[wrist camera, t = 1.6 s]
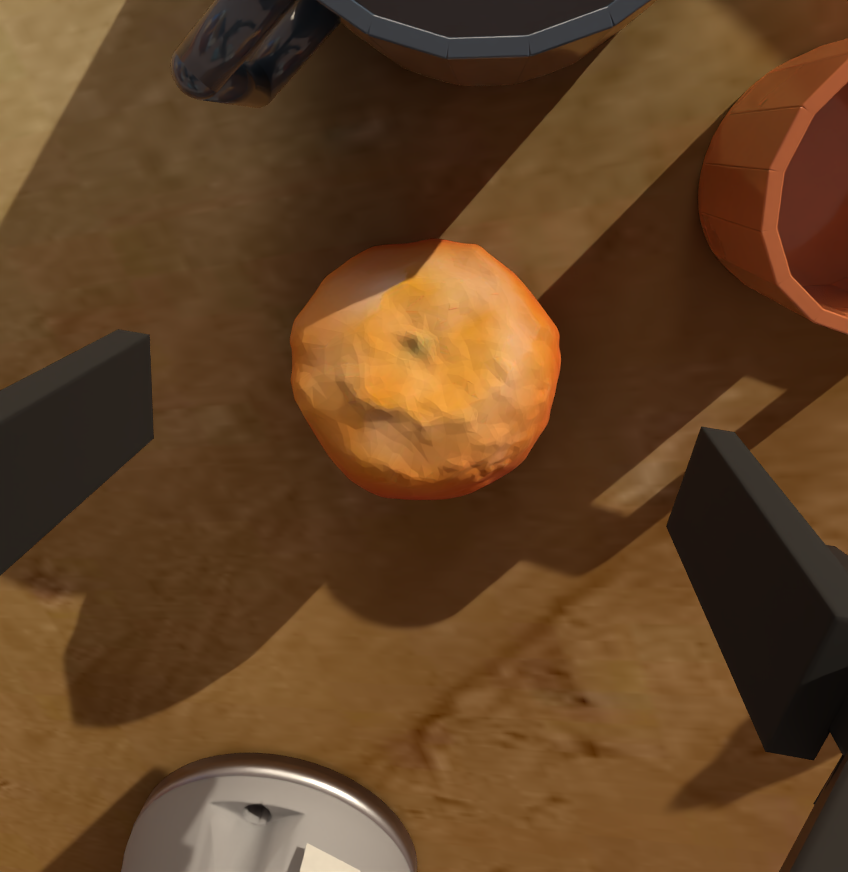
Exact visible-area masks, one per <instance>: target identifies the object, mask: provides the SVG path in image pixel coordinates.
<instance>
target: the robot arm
mask: <svg viewBox="0 0 848 872" xmlns="http://www.w3.org/2000/svg"><path fill="white" fill-rule="evenodd" d="M152 439H154V434H153V408H152V382H151V356H150V335H149V334H143V333H137V332H131V331H125V330H119V329H118V330H116V331H114V332H112V333H110V334H108V335H107V336H105V337H103V338H101V339H99V340H97V341H95V342H93V343H91V344H89V345H87V346H85V347H83V348H81V349H80V350H78V351H76V352H74V353H72V354H70V355H68V356H66V357H64V358H62V359H60V360H58V361H56V362H55V363H53V364H51V365H49V366H47V367H45V368H43V369H41V370H39V371H37V372H35V373H33V374H31V375H29V376H28V377H26V378H24V379H22V380H20V381H18V382H16V383H14V384H12V385H10V386H8V387H6V388H4V389H3V390H1V391H0V575H1V574H3V573H4V572H5V571H6V570H7V569H8V568H9V567H10V566H12V565H13V564H14V563H15V562H16V561H17V560H18V559H19V558H20V557H22V556H23V555H24V554H25V553H26V552H27V551H28V550H29V549H31V548H32V547H33V546H34V545H35V544H36V543H37V542H38V541H39V540H41V539H42V538H43V537H44V536H45V535H46V534H47V533H48V532H50V531H51V530H52V529H53V528H54V527H55V526H56V525H57V524H58V523H60V522H61V521H62V520H63V519H64V518H65V517H66V516H67V515H69V514H70V513H71V512H72V511H73V510H74V509H75V508H76V507H78V506H79V505H80V504H81V503H82V502H83V501H84V500H85V499H86V498H88V497H89V496H90V495H91V494H92V493H93V492H94V491H95V490H97V489H98V488H99V487H100V486H101V485H102V484H103V483H104V482H105V481H107V480H108V479H109V478H110V477H111V476H112V475H113V474H114V473H116V472H117V471H118V470H119V469H120V468H121V467H122V466H123V465H124V464H126V463H127V462H128V461H129V460H130V459H131V458H132V457H133V456H135V455H136V454H137V453H138V452H139V451H140V450H141V449H142V448H144V447H145V446H146V445H147V444H148V443H149V442H150V441H151V440H152ZM666 527H667V529H668V531H669V534H670V536H671V538H672V540H673V543H674V545H675V547H676V549H677V552H678V554H679V556H680V559H681V561H682V563H683V565H684V568H685V570H686V572H687V574H688V577H689V579H690V581H691V584H692V586H693V588H694V590H695V593H696V595H697V597H698V599H699V602H700V604H701V606H702V609H703V611H704V613H705V615H706V618H707V620H708V622H709V624H710V627H711V629H712V631H713V634H714V636H715V638H716V640H717V643H718V645H719V647H720V649H721V652H722V654H723V656H724V659H725V661H726V663H727V665H728V668H729V670H730V672H731V674H732V677H733V679H734V681H735V684H736V686H737V688H738V690H739V693H740V695H741V697H742V699H743V702H744V704H745V706H746V709H747V711H748V713H749V715H750V718H751V720H752V722H753V724H754V727H755V729H756V731H757V734H758V736H759V738H760V740H761V743H762V745H763V747H764V749H765V752H770V753H776V754H781V755H787V756H792V757H798V758H804V759H809V760H814V759H815V758H816V756H817V754H818V752H819V751H820V749H821V747H822V745H823V743H824V742H825V740H826V738H827V736H828V735H829V733H831V735H832V737H833V738H834V740H835V742H836V744H837V745H838V747H839V749H840V751H841V753H842V754H843V755H842V756H841V758H840V760H839V762H838V763H837V765H836V767H835V768H834V770H833V772H832V773H831V775H830V777H829V778H828V780H827V782H826V783H825V785H824V787H823V789H822V790H821V792H820V794H819V795H818V797H817V799H816V800H815V802H814V807H813V809H812V811H811V813H810V815H809V817H808V819H807V820H806V822H805V824H804V826H803V828H802V830H801V832H800V834H799V835H798V837H797V839H796V841H795V843H794V845H793V847H792V848H791V850H790V852H789V854H788V856H787V858H786V860H785V862H784V863H783V865H782V867H781V869H780V871H779V872H848V555H846V554H845V553H844V552H842V551H841V550H839V549H838V548H837V547H835V546H829V545H825V544H824V542H823V541H822V540H821V539H820V538H819V536H818V535H817V534H816V533H815V531H814V530H813V529H812V528H811V526H810V525H809V524H808V523H807V521H806V520H805V519H804V518H803V516H802V515H801V514H800V513H799V512H798V510H797V509H796V508H795V507H794V505H793V504H792V503H791V502H790V500H789V499H788V498H787V497H786V495H785V494H784V493H783V492H782V490H781V489H780V488H779V487H778V486H777V484H776V483H775V482H774V481H773V479H772V478H771V477H770V476H769V474H768V473H767V472H766V471H765V469H764V468H763V467H762V466H761V464H760V463H759V462H758V461H757V460H756V458H755V457H754V456H753V455H752V453H751V452H750V451H749V450H748V448H747V447H746V446H745V445H744V443H743V442H742V441H741V440H740V438H739V437H738V436H737V435H736V433H735V432H730V431H724V430H718V429H712V428H706V427H701V429H700V432H699V435H698V438H697V441H696V443H695V446H694V449H693V452H692V455H691V458H690V460H689V463H688V466H687V469H686V472H685V475H684V477H683V480H682V483H681V486H680V489H679V492H678V494H677V497H676V500H675V503H674V506H673V509H672V512H671V514H670V517H669V520H668V523H667V526H666ZM121 872H417V858H416V852H415V849H414V845H413V843H412V840H411V838H410V836H409V834H408V832H407V830H406V829H405V827H404V825H403V824H402V822H401V821H400V820H399V818H398V817H397V816H396V815H395V813H394V812H393V811H392V810H391V809H390V808H389V807H388V806H387V805H386V804H385V803H384V802H383V801H382V800H380V799H379V798H378V797H377V796H376V795H374V794H373V793H372V792H370V791H369V790H368V789H366V788H365V787H363V786H362V785H360V784H358V783H357V782H355V781H353V780H351V779H350V778H348V777H346V776H344V775H342V774H340V773H338V772H335V771H333V770H331V769H328V768H326V767H323V766H320V765H318V764H315V763H311V762H308V761H304V760H301V759H296V758H292V757H287V756H281V755H274V754H263V753H234V754H225V755H218V756H213V757H209V758H204V759H201V760H198V761H195V762H192V763H190V764H187V765H185V766H183V767H181V768H179V769H177V770H176V771H174V772H172V773H171V774H169V775H168V776H167V777H165V778H164V779H163V780H162V781H161V782H160V783H159V784H158V785H157V786H156V787H155V788H154V789H153V791H152V792H151V793H150V795H149V797H148V799H147V801H146V802H145V804H144V806H143V808H142V810H141V812H140V814H139V816H138V818H137V820H136V822H135V824H134V826H133V829H132V832H131V835H130V837H129V840H128V843H127V846H126V849H125V853H124V858H123V865H122V870H121Z"/></svg>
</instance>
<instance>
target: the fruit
mask: <svg viewBox="0 0 848 872" xmlns="http://www.w3.org/2000/svg"><path fill="white" fill-rule="evenodd" d="M559 339H560V336H559V332H558V329H557V327H556V326H555V324H554V323H553V322H552V320H551V319H550V317H549V316H548V315H547V313H546V312H545V310H544V309H543V308H542V306H541V305H540V304H539V302H538V301H537V300H536V298H535V297H534V296H533V295H532V293H531V292H530V291H529V290H528V288H527V287H526V286H525V285H524V284H523V282H522V281H521V280H520V279H519V278H518V277H517V276H516V275H515V274H514V273H513V272H512V271H511V270H509V269H508V268H507V267H506V266H504V265H503V264H502V263H501V262H499V261H498V260H497V259H495V258H494V257H493V256H491V255H490V254H489V253H487V252H486V251H485V250H484V249H483V248H482V247H480V246H478V245H476V244H464V243H459V242H454V241H449V240H444V239H439V238H431V239H427V240H422V241H417V242H412V243H406V244H386V245H378V246H373V247H370V248H368V249H366V250H364V251H363V252H361V253H359V254H357V255H355V256H354V257H352V258H351V259H349V260H348V261H347V262H345V263H344V264H343V265H341V266H340V267H339V268H337V269H336V270H334V271H333V272H332V273H330V274H329V275H328V276H326V277H325V279H324V280H323V281H322V282H321V284H320V285H319V287H318V289H317V290H316V292H315V293H314V294H313V296H312V297H311V299H310V300H309V301H308V303H307V304H306V305H305V307H304V308H303V309H302V311H301V312H300V313H299V314H298V316H297V317H296V318H295V320H294V323H293V327H292V332H291V335H290V345H291V349H292V375H291V385H292V390H293V394H294V399H295V401H296V403H297V404H298V406H299V408H300V410H301V412H302V414H303V416H304V417H305V419H306V421H307V422H308V424H309V426H310V427H311V429H312V431H313V432H314V434H315V435H316V437H317V439H318V440H319V442H320V444H321V445H322V447H323V448H324V450H325V451H326V453H327V454H328V456H329V457H330V459H331V460H332V461H333V462H334V463H335V465H336V466H337V467H338V468H339V469H340V470H341V471H342V472H343V473H344V475H345V476H346V477H347V478H348V479H349V480H351V481H352V482H354V483H355V484H357V485H358V486H360V487H362V488H363V489H365V490H367V491H369V492H371V493H373V494H375V495H378V496H380V497H385V498H394V499H405V500H440V499H449V498H455V497H460V496H463V495H467V494H470V493H472V492H474V491H476V490H478V489H480V488H482V487H485V486H487V485H489V484H491V483H492V482H494V481H496V480H497V479H499V478H501V477H502V476H504V475H506V474H508V473H509V472H511V471H512V470H513V469H515V468H516V467H517V466H518V465H520V464H521V463H522V462H523V461H524V460H525V459H526V458H527V456H528V454H529V452H530V450H531V449H532V447H533V445H534V444H535V442H536V441H537V439H538V437H539V436H540V434H541V433H542V431H543V430H544V429H545V427H546V425H547V423H548V421H549V416H550V410H551V406H552V403H553V400H554V396H555V391H556V386H557V381H558V377H559V372H560V366H561V354H560V349H559Z"/></svg>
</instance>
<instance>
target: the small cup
mask: <svg viewBox="0 0 848 872" xmlns="http://www.w3.org/2000/svg"><path fill="white" fill-rule="evenodd" d="M698 206H699V215H700V221H701V225H702V229H703V232H704V235H705V237H706V240H707V242H708V244H709V246H710V248H711V250H712V251H713V253H714V254H715V256H716V258H717V259H718V260H719V261H720V262H721V263H722V265H723V266H724V267H725V268H726V269H727V270H728V271H730V272H731V273H732V274H733V275H734V276H735V277H737V278H738V279H739V280H740V281H741V282H742V283H743V284H745V285H746V286H748V287H750V288H752V289H753V290H755V291H757V292H759V293H761V294H762V295H764V296H766V297H768V298H770V299H771V300H773V301H775V302H777V303H779V304H781V305H782V306H784V307H786V308H788V309H790V310H791V311H793V312H795V313H797V314H799V315H800V316H802V317H804V318H806V319H808V320H809V321H811V322H813V323H816V324H818V325H821V326H824V327H827V328H830V329H832V330H835V331H838V332H841V333H844V334H846V335H848V38H846V39H843V40H840V41H836V42H833V43H829V44H826V45H822V46H819V47H817V48H815V49H813V50H811V51H809V52H807V53H804V54H802V55H800V56H797V57H795V58H793V59H791V60H788V61H786V62H785V63H783V64H781V65H780V66H778V67H776V68H775V69H773V70H771V71H770V72H769V73H767V74H766V75H765V76H763V77H762V78H761V79H759V80H758V81H757V82H755V83H754V84H753V85H752V86H751V87H750V88H749V89H748V90H747V91H746V92H745V93H744V94H743V95H742V96H741V97H740V98H739V99H738V100H737V102H736V103H735V104H734V105H733V106H732V107H731V109H730V110H729V112H728V113H727V114H726V116H725V117H724V119H723V120H722V122H721V123H720V125H719V127H718V129H717V130H716V132H715V134H714V136H713V138H712V140H711V142H710V145H709V147H708V150H707V152H706V155H705V158H704V162H703V165H702V169H701V174H700V181H699V187H698Z"/></svg>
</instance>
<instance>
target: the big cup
mask: <svg viewBox="0 0 848 872" xmlns="http://www.w3.org/2000/svg"><path fill="white" fill-rule="evenodd" d="M655 1H657V0H215V1H214V2H213V3H212V4H211V6H210V7H209V8H208V10H207V11H206V12H205V13H204V15H203V16H202V17H201V18H200V20H199V21H198V22H197V23H196V25H195V26H194V27H193V28H192V30H191V31H190V32H189V33H188V35H187V36H186V37H185V38H184V40H183V41H182V42H181V44H180V45H179V46H178V47H177V49H176V50H175V51H174V53H173V55H172V58H171V65H170V66H171V74H172V77H173V80H174V82H175V84H176V85H177V86H178V88H179V89H180V90H181V91H182V92H183V93H184V94H186V95H187V96H189V97H191V98H194V99H198V100H204V101H211V102H218V103H225V104H232V105H238V106H245V107H252V108H261V107H264V106H266V105H268V104H269V103H270V102H271V101H272V100H273V99H274V98H275V96H276V95H277V94H278V93H279V92H280V91H281V90H282V89H283V87H284V86H285V85H286V84H287V83H288V82H289V81H290V80H291V78H292V77H293V76H294V75H295V74H296V73H297V72H298V70H299V69H300V68H301V67H302V66H303V65H304V64H305V63H306V61H307V60H308V59H309V58H310V57H311V56H312V55H313V54H314V52H315V51H316V50H317V49H318V48H319V47H320V46H321V44H322V43H323V42H324V41H325V40H326V39H327V38H328V37H329V35H330V34H331V33H332V32H333V31H334V30H335V29H336V28H337V26H338V25H339V24H340V23H342V24H343V25H344V26H346V27H347V28H348V29H349V30H350V31H352V32H353V33H354V34H355V35H357V36H358V37H359V38H361V39H362V40H364V41H365V42H366V43H368V44H369V45H371V46H372V47H374V48H375V49H376V50H378V51H379V52H380V53H382V54H384V55H385V56H387V57H388V58H389V59H391V60H392V61H394V62H395V63H397V64H398V65H399V66H401V67H402V68H404V69H406V70H409V71H412V72H415V73H419V74H421V75H423V76H426V77H429V78H433V79H436V80H440V81H443V82H447V83H451V84H455V85H460V86H501V85H514V84H519V83H522V82H525V81H528V80H531V79H534V78H537V77H540V76H544V75H547V74H550V73H552V72H554V71H556V70H559V69H562V68H564V67H567V66H570V65H572V64H574V63H576V62H577V61H578V60H580V59H581V58H583V57H584V56H585V55H587V54H588V53H589V52H591V51H592V50H594V49H595V48H597V47H598V46H600V45H601V44H602V43H603V42H605V41H606V40H608V39H609V38H610V37H612V36H613V35H615V34H616V33H617V32H619V31H620V30H622V29H623V28H624V27H625V26H627V25H628V24H629V23H630V22H631V21H633V20H634V19H635V18H636V17H637V16H639V15H640V14H641V13H642V12H643V11H645V10H646V9H647V8H648V7H649V6H651V5H652V4H653V3H654V2H655Z"/></svg>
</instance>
